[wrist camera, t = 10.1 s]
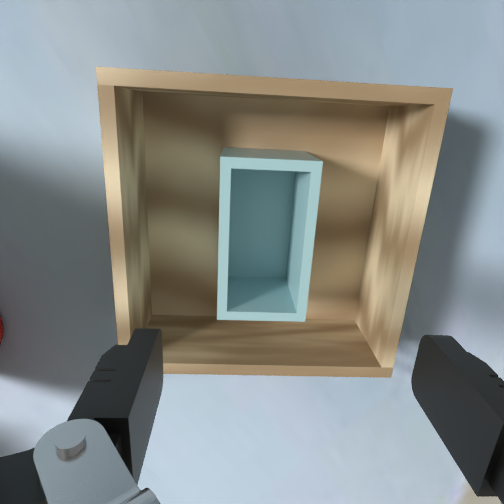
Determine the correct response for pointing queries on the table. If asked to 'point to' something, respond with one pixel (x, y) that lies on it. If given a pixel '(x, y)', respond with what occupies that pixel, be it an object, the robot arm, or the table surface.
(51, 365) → the table surface
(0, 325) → the canned food
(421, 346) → the robot arm
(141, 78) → the large crate
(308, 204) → the small crate
